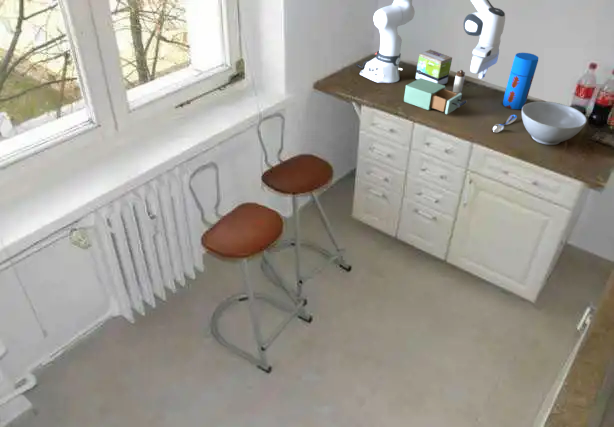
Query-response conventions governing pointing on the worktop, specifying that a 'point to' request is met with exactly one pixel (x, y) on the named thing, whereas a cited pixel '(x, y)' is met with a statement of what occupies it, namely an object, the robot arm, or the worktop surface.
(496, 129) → the silver spoon
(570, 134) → the decorative bowl
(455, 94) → the drawer
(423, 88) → the cabinet
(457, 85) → the canister with knobbed lid
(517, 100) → the thermos
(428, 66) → the tea box
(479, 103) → the worktop surface
